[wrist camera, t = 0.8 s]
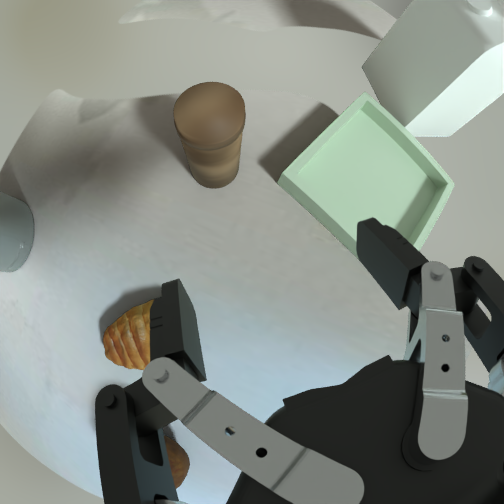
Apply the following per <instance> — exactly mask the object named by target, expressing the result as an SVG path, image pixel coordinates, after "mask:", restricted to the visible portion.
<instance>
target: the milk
mask: <svg viewBox="0 0 504 504" xmlns="http://www.w3.org/2000/svg"><path fill="white" fill-rule="evenodd" d="M362 69H363V70H364V72H365V74H366V76H367V78H368V80H369V82H370V84H371V85H372V87H373V89H374V91H375V94H376V96H377V98H378V100H379V102H380V104H381V106H382V107H384V108H385V109H386V110H387V111H388V112H389V113H390V114H391V115H392V116H393V117H394V118H395V119H396V120H397V121H399V122H400V123H401V124H402V125H403V126H404V127H405V128H406V129H407V130H408V131H409V132H410V133H411V134H412V135H413V136H434V137H435V136H436V137H438V136H439V137H449V136H451V135H452V134H453V133H454V132H456V131H457V130H458V129H459V128H461V127H462V126H463V125H465V124H466V123H467V122H468V121H470V120H471V119H472V118H473V117H475V116H476V115H477V114H478V113H480V112H481V111H482V110H483V109H485V108H486V107H487V106H488V105H490V104H491V103H492V102H493V101H494V100H496V99H497V98H498V97H499V96H501V95H502V94H503V93H504V0H413V1H412V2H411V3H410V5H409V6H408V7H407V8H406V10H405V11H404V12H403V14H402V15H401V16H400V17H399V19H398V20H397V21H396V23H395V24H394V25H393V26H392V28H391V29H390V30H389V32H388V33H387V34H386V35H385V37H384V38H383V39H382V41H381V42H380V43H379V45H378V46H377V47H376V49H375V50H374V51H373V52H372V54H371V55H370V56H369V58H368V59H367V60H366V62H365V63H364V65H363V66H362Z"/></svg>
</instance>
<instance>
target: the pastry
mask: <svg viewBox="0 0 504 504" xmlns="http://www.w3.org/2000/svg"><path fill="white" fill-rule="evenodd" d="M153 301H154V299H153V300H150V301H149V302H147V303H144V304H141V305H139V306H135V307H133V308H132V309H131V310H129V311H127V312H126V313H124V314H123V315H122V316H121V317H119V318H118V319H117V320H116V321H115V322H114V323H113V324H112V325H110V326H108V327H107V329H106V331H105V333H104V337H103V343H104V348H105V355H106V357H107V358H108V359H109V360H111V361H112V362H113V363H115V364H116V365H120V366H124V367H125V368H128V369H133V368H134V369H139V370H144V369H145V367H146V366H147V365H148V364H149V363H150V308H151V306H152V303H153Z"/></svg>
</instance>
